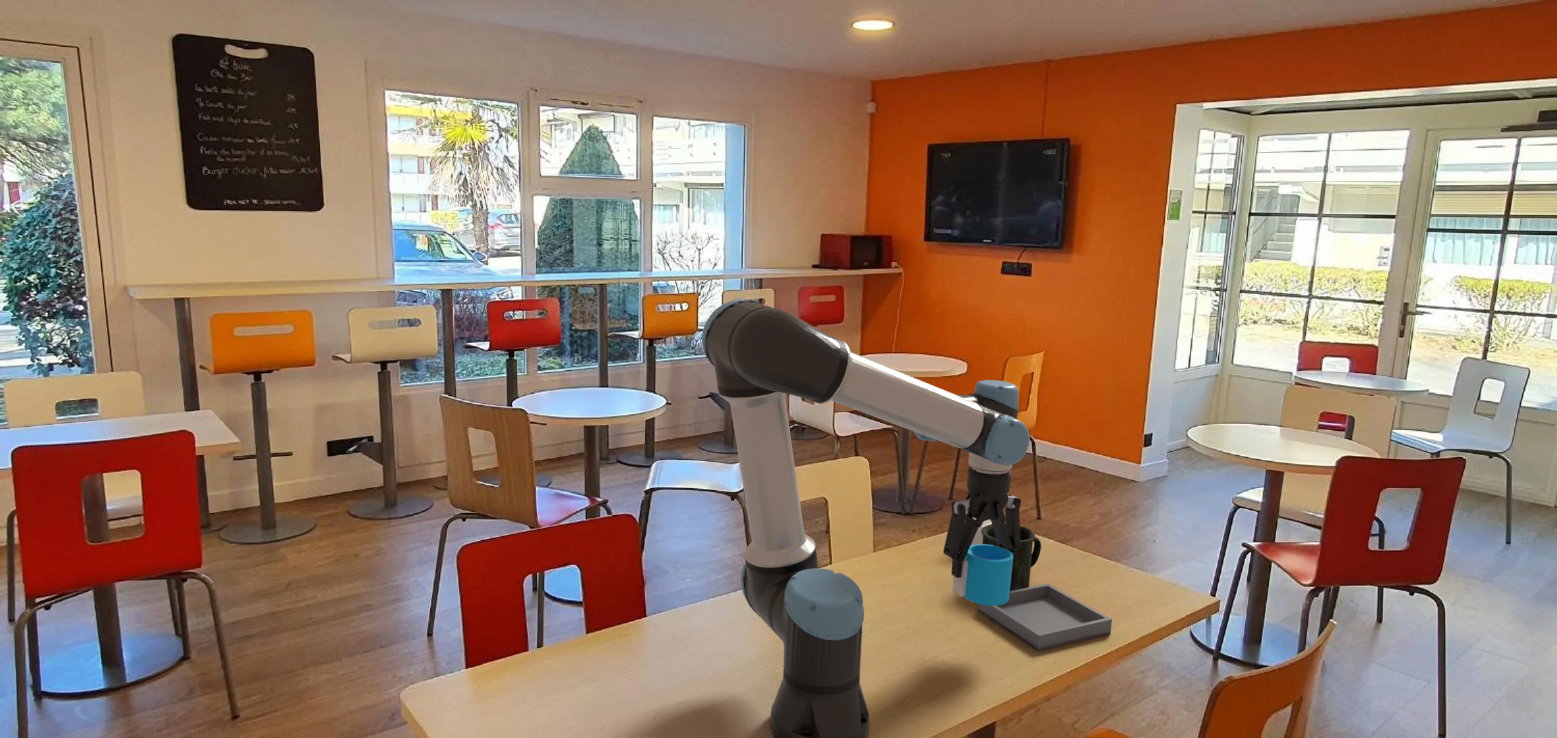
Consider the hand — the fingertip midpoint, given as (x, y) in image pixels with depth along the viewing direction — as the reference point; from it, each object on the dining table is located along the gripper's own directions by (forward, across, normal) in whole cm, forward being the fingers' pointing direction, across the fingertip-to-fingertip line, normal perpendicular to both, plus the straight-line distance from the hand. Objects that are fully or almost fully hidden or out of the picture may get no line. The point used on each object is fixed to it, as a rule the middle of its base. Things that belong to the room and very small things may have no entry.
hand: (978, 589), depth 166 cm
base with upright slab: (+10, +34, +41) cm, 54 cm away
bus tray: (+11, +19, +3) cm, 22 cm away
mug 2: (+11, +25, +20) cm, 34 cm away
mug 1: (+1, 0, 0) cm, 1 cm away
